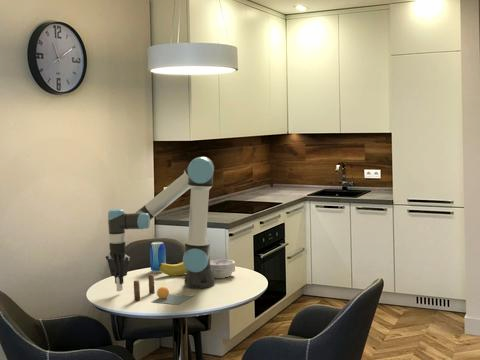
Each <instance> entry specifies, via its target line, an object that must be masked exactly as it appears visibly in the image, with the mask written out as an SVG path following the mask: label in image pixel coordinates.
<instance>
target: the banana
mask: <svg viewBox="0 0 480 360" xmlns="http://www.w3.org/2000/svg"><path fill="white" fill-rule="evenodd" d="M159 268H160V270H161V271H162V272H161V273H163V274H165V275H167V276H172V277H173V276H175V277H178V276H183V275H186V273H187V269H186V267H185V266H184V264H183V261H182V262H179V263H177V264H176V263H175V264H169V263H166V264H164V263H160V264H159Z"/></svg>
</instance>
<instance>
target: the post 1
mask: <svg viewBox="0 0 480 360" xmlns="http://www.w3.org/2000/svg"><path fill="white" fill-rule="evenodd" d="M140 292H141V287H140V280H137V279H136V280H134V281H133V294H134V296H133V299H134V301H135V302H139V301H141V293H140Z"/></svg>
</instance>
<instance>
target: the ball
mask: <svg viewBox="0 0 480 360" xmlns="http://www.w3.org/2000/svg"><path fill="white" fill-rule="evenodd" d="M169 294H170V291H169V289H168V287H166V286H161V287H159V288H158V289H157V291H156V296H157V297H158V298H161V299H165V298H167V297H168V295H169Z"/></svg>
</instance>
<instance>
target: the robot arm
mask: <svg viewBox="0 0 480 360" xmlns="http://www.w3.org/2000/svg"><path fill="white" fill-rule="evenodd" d="M214 172H215V164H214V162H213V160H211V159H210V158H209V157H207V156H198V157H195V158H193V159H192V160H191V161H190V163H189V164H188V166H187V168H186V169H184V170H183V174H182V175H180V176H179V177H178V178H176V179H175V180H174V181H173V182H172V183H170V184H169V185H168V186H166V187H165V188H164V189H163V190H161V192H159V193H158V194H157V195H156V196H154V197H153V198H152V199H150V200H149V201H148V202H147V203H145V204H144V205H142V206H141V208H139V209H138V210H137V211H136V212H134V213H132V212H131V213H127V212H126V213H125V210H124V209H120V208H118V209H110V210H109V211H108V212H107V214H108V216H107V221H108V222H107V224H108V226H107V227H108V242H109V244H108V245H109V250H110V251H109V254H108V255H106V256H105V259H106V261H107V263H108V268H109V271H110V276H111V277H114V284H115V285H116V292H121V291H123V290H124V289H123V284H124V283H125V282H124V277H126V276H127V275H128V270H129V265H130V264H129V262H130V260H131V256H129V255H127V252H126V249H127V248H126V247H127V246H126V242H125V241H126V230H144V229H145V230H146V229H147V230H148V229H149V228H150V226H151V220H152V219H153V218H155V217H156V216H157V215H158V214H160V213H161V212H163V210H165V209H166V208H167V207H169V206H170V205H171V204H173V202H175V201H177V199H178V198H180V197H181V196H182V195H183V194H185V193H186V192H187V191H189V190H190V198H189V217H188V218H189V220H188V233H187V234H188V235H187V236H188V237H187V239H186V240H185V241H184V248H183V249H184V250H183V252H184V253H183V257H182V262H183V264H184V266H185V267H186V269H187V273H186V274H185V278H184V281H183V283H184V287H185V288H188V289H207V288H211V287H213V286H215V283H216V282H215V278H214V277H213V275H212V272H211V269H210V261H211V248H210V247H211V244H210V240H209V239H207V233H208V232H207V231H208V218H209V217H208V214H209V213H208V212H209V195H210V190H211V188H212V187H213V183H214Z"/></svg>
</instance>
